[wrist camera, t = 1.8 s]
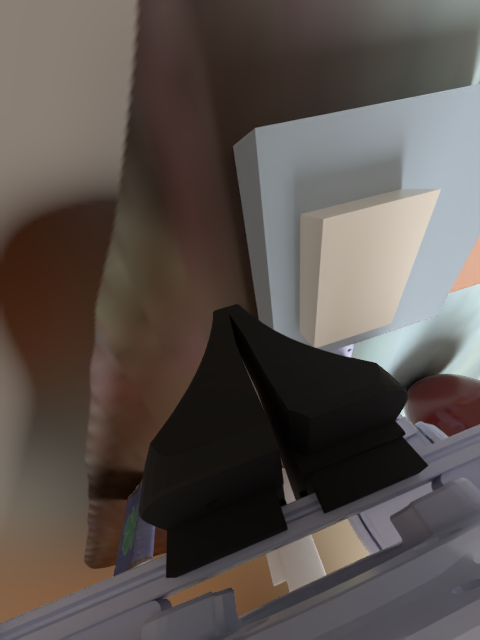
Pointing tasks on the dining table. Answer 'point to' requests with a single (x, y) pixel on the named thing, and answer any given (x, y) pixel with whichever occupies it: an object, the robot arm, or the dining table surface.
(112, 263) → the dining table surface
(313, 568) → the white tall block
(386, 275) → the tile
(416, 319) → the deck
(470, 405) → the round-bottom flask
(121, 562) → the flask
